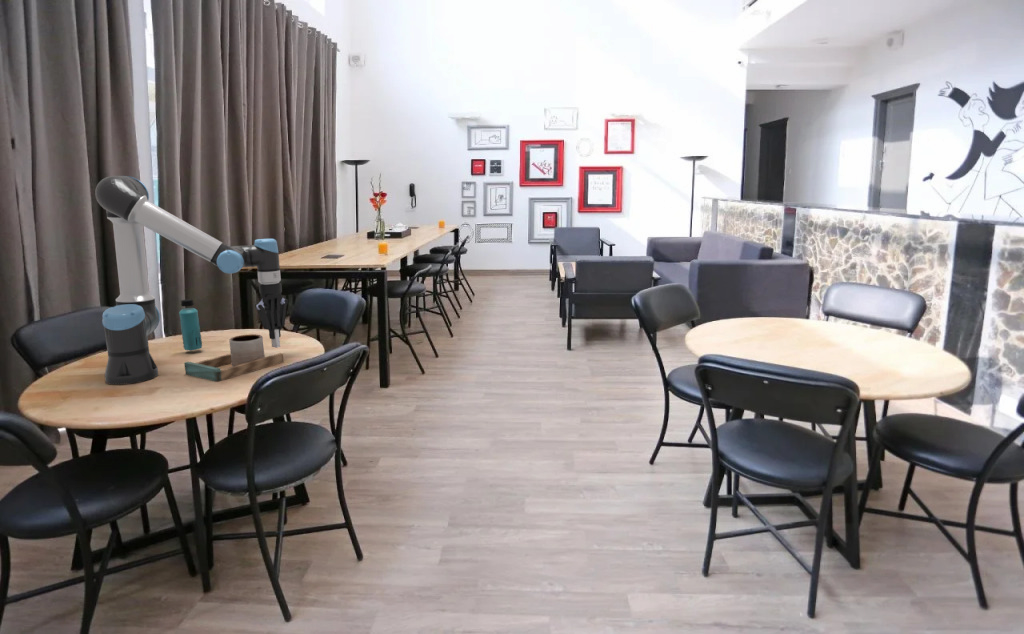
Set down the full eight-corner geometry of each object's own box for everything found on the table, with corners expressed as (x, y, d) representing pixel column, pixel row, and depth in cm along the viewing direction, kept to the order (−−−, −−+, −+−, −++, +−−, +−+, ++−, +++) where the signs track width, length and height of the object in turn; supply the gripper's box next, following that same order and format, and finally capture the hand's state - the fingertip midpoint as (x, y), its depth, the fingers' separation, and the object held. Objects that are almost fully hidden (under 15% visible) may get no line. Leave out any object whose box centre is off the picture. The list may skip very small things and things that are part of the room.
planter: (224, 366, 226) (221, 339, 224) (250, 358, 236) (247, 332, 234) (246, 370, 221) (244, 342, 219) (272, 362, 231) (269, 335, 229)
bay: (217, 381, 209) (216, 369, 208) (185, 374, 218) (184, 362, 217) (283, 361, 231) (282, 350, 230) (252, 355, 239) (251, 345, 239)
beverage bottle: (198, 354, 243) (191, 301, 239) (180, 354, 243) (173, 301, 239) (206, 349, 250) (200, 298, 245) (189, 349, 250) (182, 298, 246)
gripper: (261, 286, 225) (268, 352, 230) (291, 280, 236) (297, 344, 241) (247, 284, 229) (254, 349, 234) (277, 279, 240) (283, 341, 245)
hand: (276, 346), depth 238 cm, fingers closed
